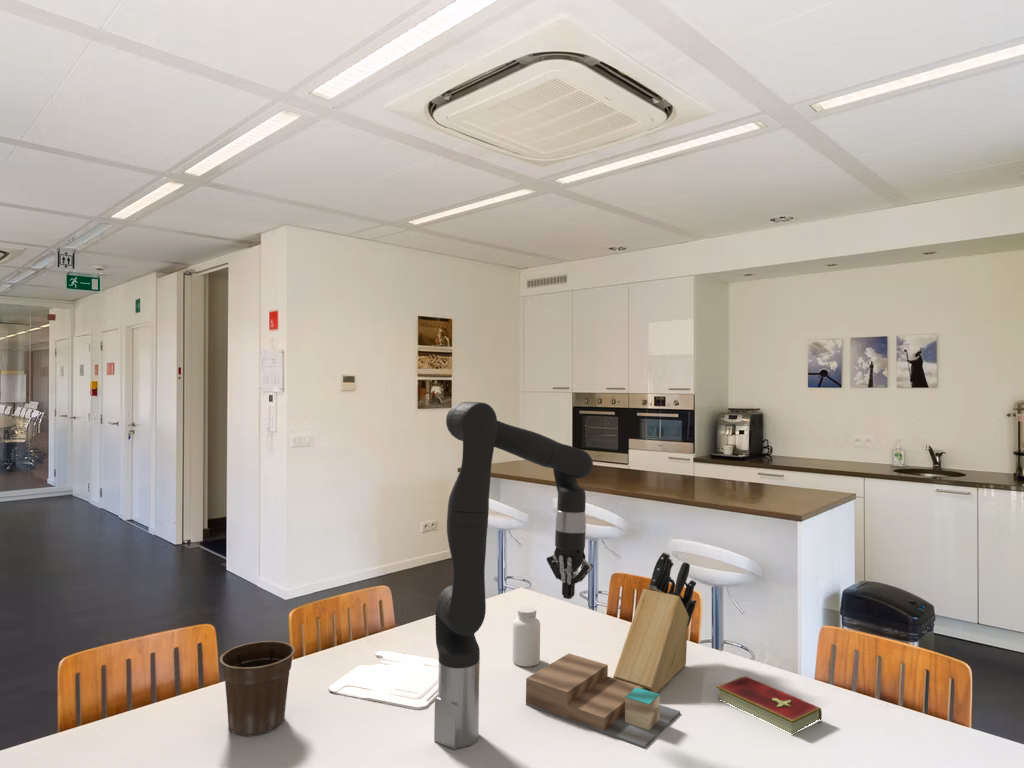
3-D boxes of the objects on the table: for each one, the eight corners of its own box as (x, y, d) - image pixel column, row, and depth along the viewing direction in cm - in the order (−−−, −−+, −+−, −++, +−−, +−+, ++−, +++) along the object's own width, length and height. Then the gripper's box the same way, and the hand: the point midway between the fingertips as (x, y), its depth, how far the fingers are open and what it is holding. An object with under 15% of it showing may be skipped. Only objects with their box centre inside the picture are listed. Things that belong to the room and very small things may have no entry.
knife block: (698, 655, 194) (700, 551, 194) (652, 700, 165) (653, 578, 165) (662, 646, 200) (664, 546, 201) (611, 688, 171) (613, 570, 172)
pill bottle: (540, 657, 191) (541, 605, 191) (538, 668, 183) (539, 615, 183) (513, 655, 192) (514, 604, 192) (510, 666, 184) (511, 613, 184)
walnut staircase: (644, 748, 142) (644, 718, 143) (525, 704, 162) (526, 678, 162) (680, 713, 158) (680, 686, 159) (568, 677, 178) (568, 653, 178)
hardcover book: (745, 690, 173) (745, 674, 173) (821, 724, 155) (821, 706, 155) (716, 702, 166) (716, 685, 166) (792, 738, 148) (792, 720, 148)
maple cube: (625, 696, 153) (625, 721, 153) (649, 703, 149) (648, 730, 149) (636, 687, 158) (636, 712, 158) (659, 694, 154) (659, 719, 154)
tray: (324, 694, 167) (325, 688, 167) (381, 653, 193) (381, 648, 193) (423, 713, 158) (423, 706, 158) (468, 667, 184) (468, 662, 184)
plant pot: (220, 712, 156) (222, 644, 156) (292, 701, 161) (293, 636, 162) (215, 747, 140) (217, 672, 141) (294, 734, 146) (296, 662, 146)
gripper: (540, 526, 164) (537, 595, 164) (585, 534, 156) (582, 607, 156) (557, 522, 170) (554, 589, 170) (601, 530, 162) (598, 600, 162)
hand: (568, 597), depth 163 cm, fingers closed
